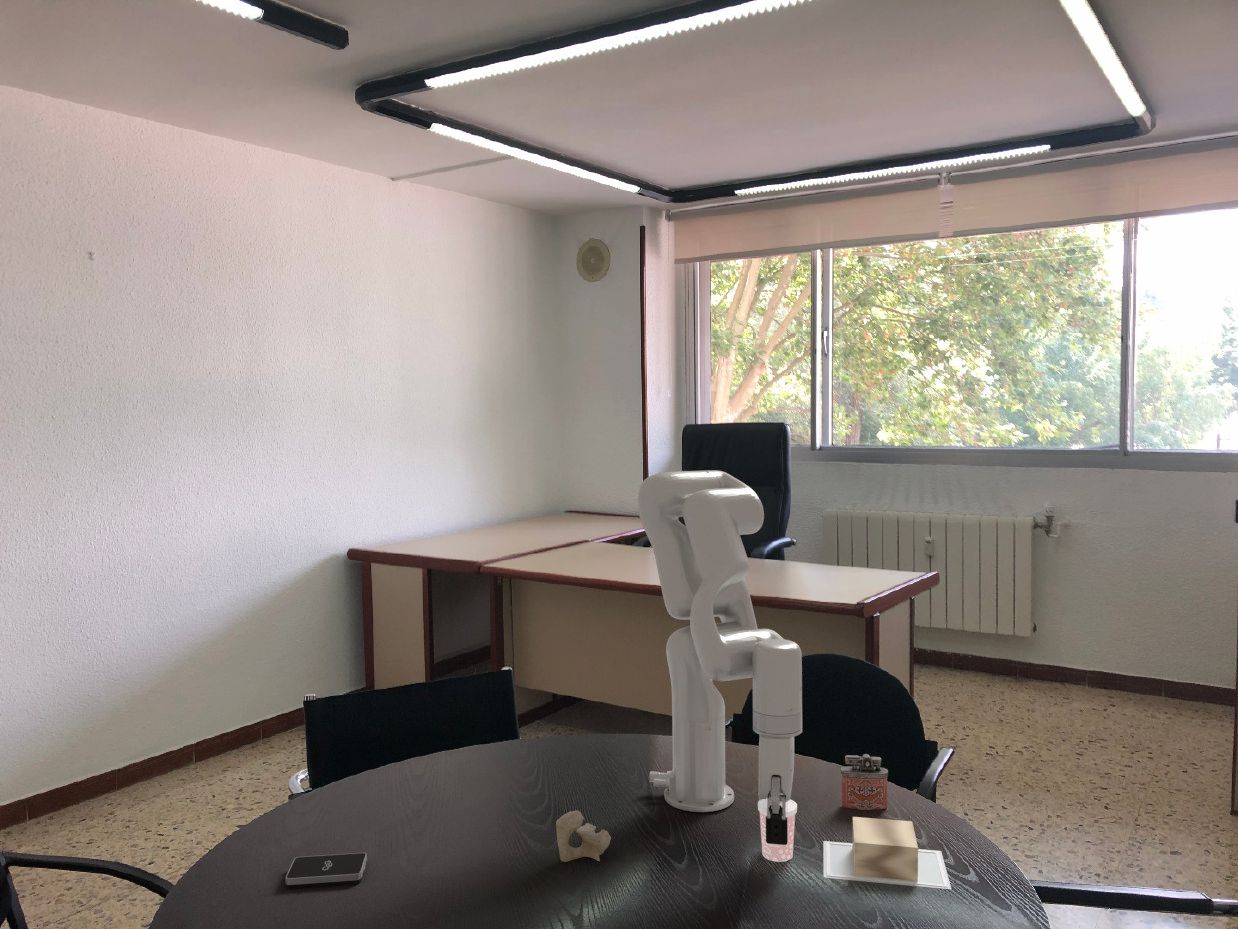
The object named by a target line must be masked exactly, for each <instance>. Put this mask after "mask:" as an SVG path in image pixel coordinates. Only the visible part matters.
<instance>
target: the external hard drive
mask: <svg viewBox="0 0 1238 929" xmlns="http://www.w3.org/2000/svg"><path fill="white" fill-rule="evenodd" d="M367 857H368V856H367V852H351V853H338V854H323V855H322V854H321V855H308V856H307V855H306V856H297V857H295V858H294V859H293V861H292V863H291V865H290V867H289V869H288V871H287V873H286V876H285V888H286V889H287V890H296V889H297V890H298V889H311V888H322V887H323V888H325V887H338V886H339V887H340V886H350V885H351V886H353V885H359V884H360V883H361V882H362V878H363V876H364V874H365V869H366V865H367V862H368V858H367Z"/></svg>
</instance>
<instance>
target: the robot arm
mask: <svg viewBox="0 0 1238 929" xmlns="http://www.w3.org/2000/svg"><path fill="white" fill-rule="evenodd" d="M637 494H638V495H637V508H638V514H639V515H638V516H639V518H640V522H641V525H642V527H643V529H644V531H645V535H646V536H647V538H648V541H649V542H650V545H651V547H652V551H653V554H654V559H655V563H656V564H655V565H656V569H657V574H658V578H659V584H660V587H661V593H662V598H663V602H664V606H665V609H666V610H667V613H668V615H669V616H671V618H674V619H676V620H686V621H687V620H689V624H690V625H688V626H684V627H681V628H678V629H677V630H675V631H673V632H672V633H671V634H670V636H669V637H668V638H667V642H666V644H665V645H666V646H665V653H666V659H667V664H668V665H667V666H668V670H669V671H668V672H669V676H670V677H669V678H670V684H671V685H670V686H671V687H670V688H671V713H672V714H671V717H672V720H671V722H672V769H671V770H667V771H666V772H660V771H654V770H653V771H649V775H648V776H649V777H648V778H649V780H648V781H649V783H653V787H658V788H661V787H662V788H665V790H664V795H663V796H664V800H665V801H666V803H667V804H669V805H670V806H671V807H673V808H676V809H678V810H682V811H686V812H690V813H691V812H692V813H710V812H717V811H720V810H723V809H726V808H728V807H730V806H731V805H732V804H733V802H734V800H735V792H734V790H733V789H732V788H731V786H729V785H728V784H726V705H725V700H724V698H723V695H722V693H721V692H720V691H719V689H717V687H716V686H715V684H714V682H713V681H716V682H727V681H729V682H730V681H735V680H742V679H749V678H752V730H753V732H754V733H755V734H758V735H759V742H758V795H757V796H758V799H759V800H763V799H766V798H767V816H766V842H767V843H768V844H779V845H786V844H787V842H788V825H787V817H786V802H788V801H789V800H790V799H791V796H792V791H793V790H792V789H793V784H794V783H793V781H794V771H795V770H794V769H795V737H797V736H799V735H800V734H802V733H803V673H802V672H803V665H802V664H803V663H802V661H803V659H802V658H803V654H802V653H803V652H802V649H801V647H800V645H799V644H797V643H796V641H792V640H790V639H785V638H784V637H782V636H781V635H780V634H779V633H778V632H776V631H775V630H773V629H770V628H759V627H758V623H757V620H756V615H755V612H754V606H753V603H752V602H753V601H752V599H751V595H750V590H749V586H748V583H747V580H746V579H745V578H746V577H747V576H748V574H749V572H750V570H751V566H750V565H751V564H750V561H749V558H748V555H747V553H746V549H745V546H744V544H743V541H742V538H741V536H742V535H752V534H755V533H757V532H758V531H760V529H761V528H762V527H763V524H764V519H765V513H764V512H765V511H764V510H765V509H764V506H763V503H762V501H761V498H759V497H760V496H759V495H758V494H757V493H756V491H755V490H753V489H752V487H750V486H749V485H747V484H745V483H744V482H743V481H741V480H739V479H738V478H736V477H734V476H733V475H731V474H729V473H727V472H725V471H722V470H717V469H716V470H712V469H711V470H709V469H707V470H679V471H678V470H677V471H675V470H674V471H666V472H665V471H664V472H659V473H655V474H651V475H650V476H648V477H647V478H645V479H644V480H643V481H642V482H641V484H640V486H639V489H638V493H637ZM679 518H683V521H684V524H683V523H682V522H681V521H680V520H679ZM716 617H718V618H719V619H720V621H721V622H717V623H716V619H715V618H716ZM780 803H782V807H781V806H780Z"/></svg>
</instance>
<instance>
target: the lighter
mask: <svg viewBox="0 0 1238 929" xmlns="http://www.w3.org/2000/svg"><path fill="white" fill-rule="evenodd" d="M844 764H846V765H847V766H842V767H841V768H840V775H841V804H840V808H844V809H850V810H859V811H860V810H864V811H866V810H867V811H878V810H879V811H888V810H889V808H888V777H889V769H888V768H885V767H881V765H882V758H881V757H880V756H870V755H869V754H868V753H864V754H862V756H859V755H849V754H847V755H845V756H844ZM848 765H851V766H848Z"/></svg>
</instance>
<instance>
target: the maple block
mask: <svg viewBox="0 0 1238 929" xmlns="http://www.w3.org/2000/svg"><path fill="white" fill-rule="evenodd" d="M916 836H917V835H916V833H915V827H914V823H913V821H911V820H900V819H899V820H897V819H896V820H895V819H886V818H876V817H875V818H874V817H873V818H871V817H861V816H860V817H859V816H852V843H853V861H854V875H857V876H868V877H879V878H890V879H900V880H911V881H918V849H919V847H918V846H919V845H918V841H917V837H916Z"/></svg>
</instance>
